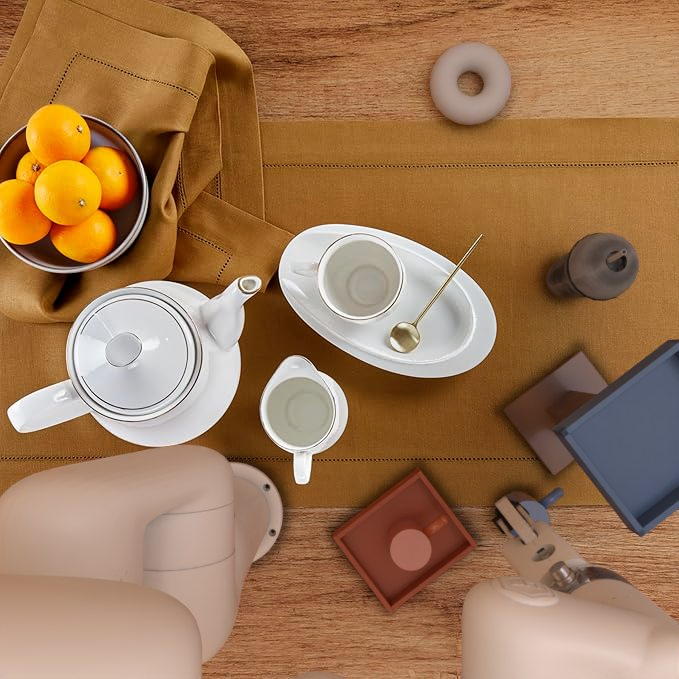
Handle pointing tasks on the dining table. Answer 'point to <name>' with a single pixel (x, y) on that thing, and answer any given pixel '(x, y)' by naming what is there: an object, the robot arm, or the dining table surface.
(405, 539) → the rust mug
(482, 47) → the donut
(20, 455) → the dining table surface
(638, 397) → the blue tray
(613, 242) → the beverage cup
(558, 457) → the stand
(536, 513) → the blue mug
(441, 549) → the rust tray
